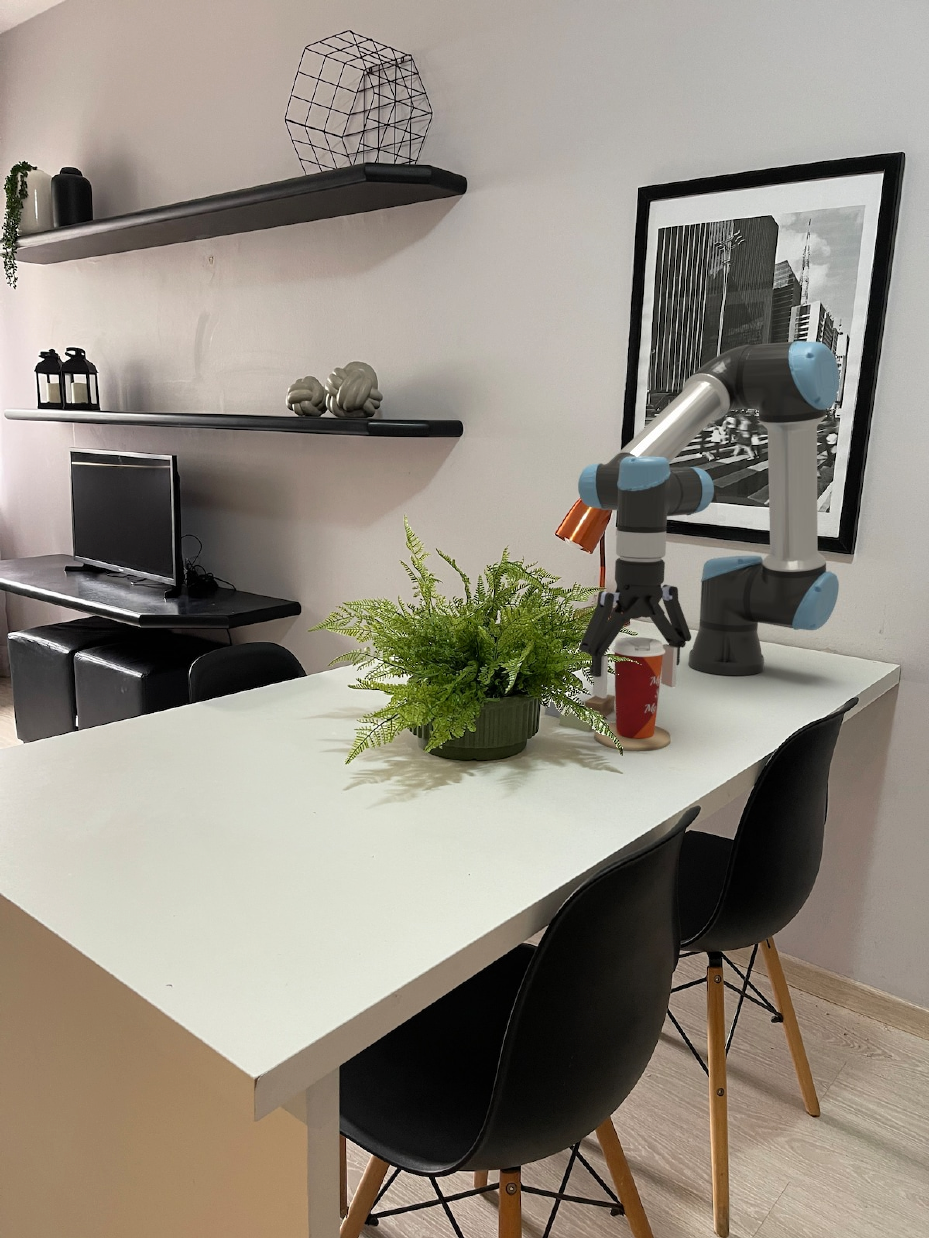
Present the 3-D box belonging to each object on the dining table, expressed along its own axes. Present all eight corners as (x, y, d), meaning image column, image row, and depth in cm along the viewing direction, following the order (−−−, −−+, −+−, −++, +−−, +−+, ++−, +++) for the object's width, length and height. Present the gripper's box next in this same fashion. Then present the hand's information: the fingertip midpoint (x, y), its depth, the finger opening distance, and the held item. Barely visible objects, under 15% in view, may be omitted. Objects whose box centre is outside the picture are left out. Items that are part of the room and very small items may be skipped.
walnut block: (598, 709, 168) (599, 693, 167) (614, 712, 166) (614, 695, 165) (584, 718, 162) (584, 701, 162) (600, 721, 161) (601, 704, 160)
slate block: (583, 718, 162) (584, 701, 162) (573, 722, 160) (574, 705, 160) (555, 711, 166) (555, 694, 166) (545, 715, 164) (545, 698, 163)
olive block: (559, 725, 158) (559, 708, 158) (569, 721, 161) (570, 704, 160) (589, 733, 155) (589, 715, 154) (599, 729, 157) (600, 711, 156)
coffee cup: (665, 741, 148) (670, 647, 145) (612, 740, 148) (616, 647, 145) (656, 725, 156) (660, 636, 153) (606, 724, 156) (609, 635, 153)
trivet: (638, 722, 160) (638, 718, 159) (686, 743, 149) (686, 738, 149) (579, 732, 154) (579, 728, 154) (624, 755, 144) (625, 750, 143)
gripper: (686, 550, 155) (679, 675, 159) (558, 560, 143) (555, 694, 148) (718, 556, 148) (710, 686, 153) (587, 566, 137) (583, 707, 141)
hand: (634, 690), depth 150 cm, fingers open, 13 cm apart
